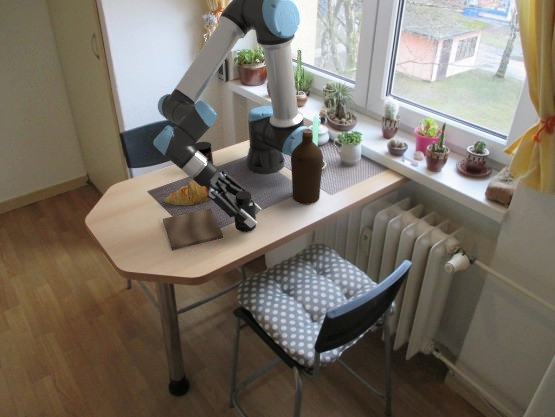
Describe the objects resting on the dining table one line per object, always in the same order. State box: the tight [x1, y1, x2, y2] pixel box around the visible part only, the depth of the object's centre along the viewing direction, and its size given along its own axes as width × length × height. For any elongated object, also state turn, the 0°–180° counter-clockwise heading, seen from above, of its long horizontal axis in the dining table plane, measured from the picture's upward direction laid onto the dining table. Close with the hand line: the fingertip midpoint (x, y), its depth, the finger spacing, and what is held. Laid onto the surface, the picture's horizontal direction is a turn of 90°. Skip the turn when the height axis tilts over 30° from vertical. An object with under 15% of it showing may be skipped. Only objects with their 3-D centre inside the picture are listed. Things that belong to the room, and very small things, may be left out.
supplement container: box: [194, 141, 214, 164], centre depth 174 cm, size 7×7×10 cm
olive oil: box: [290, 128, 324, 205], centre depth 153 cm, size 11×11×25 cm
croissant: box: [163, 179, 210, 206], centre depth 159 cm, size 21×10×8 cm, turn 113°
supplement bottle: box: [233, 190, 257, 233], centre depth 142 cm, size 7×7×12 cm
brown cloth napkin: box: [162, 208, 225, 251], centre depth 144 cm, size 16×16×1 cm
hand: (256, 218), depth 143 cm, fingers closed on supplement bottle, 7 cm apart
